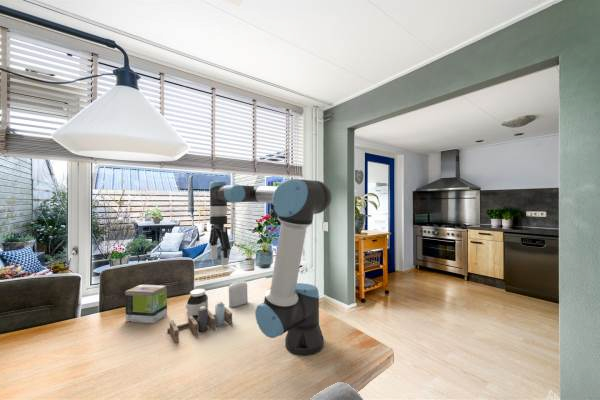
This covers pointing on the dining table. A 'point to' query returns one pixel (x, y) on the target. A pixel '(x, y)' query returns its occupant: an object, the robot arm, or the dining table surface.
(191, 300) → the spread jar
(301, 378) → the dining table surface
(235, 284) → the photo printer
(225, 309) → the comb rack
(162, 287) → the tea box
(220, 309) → the light blue bottle
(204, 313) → the charcoal plug
